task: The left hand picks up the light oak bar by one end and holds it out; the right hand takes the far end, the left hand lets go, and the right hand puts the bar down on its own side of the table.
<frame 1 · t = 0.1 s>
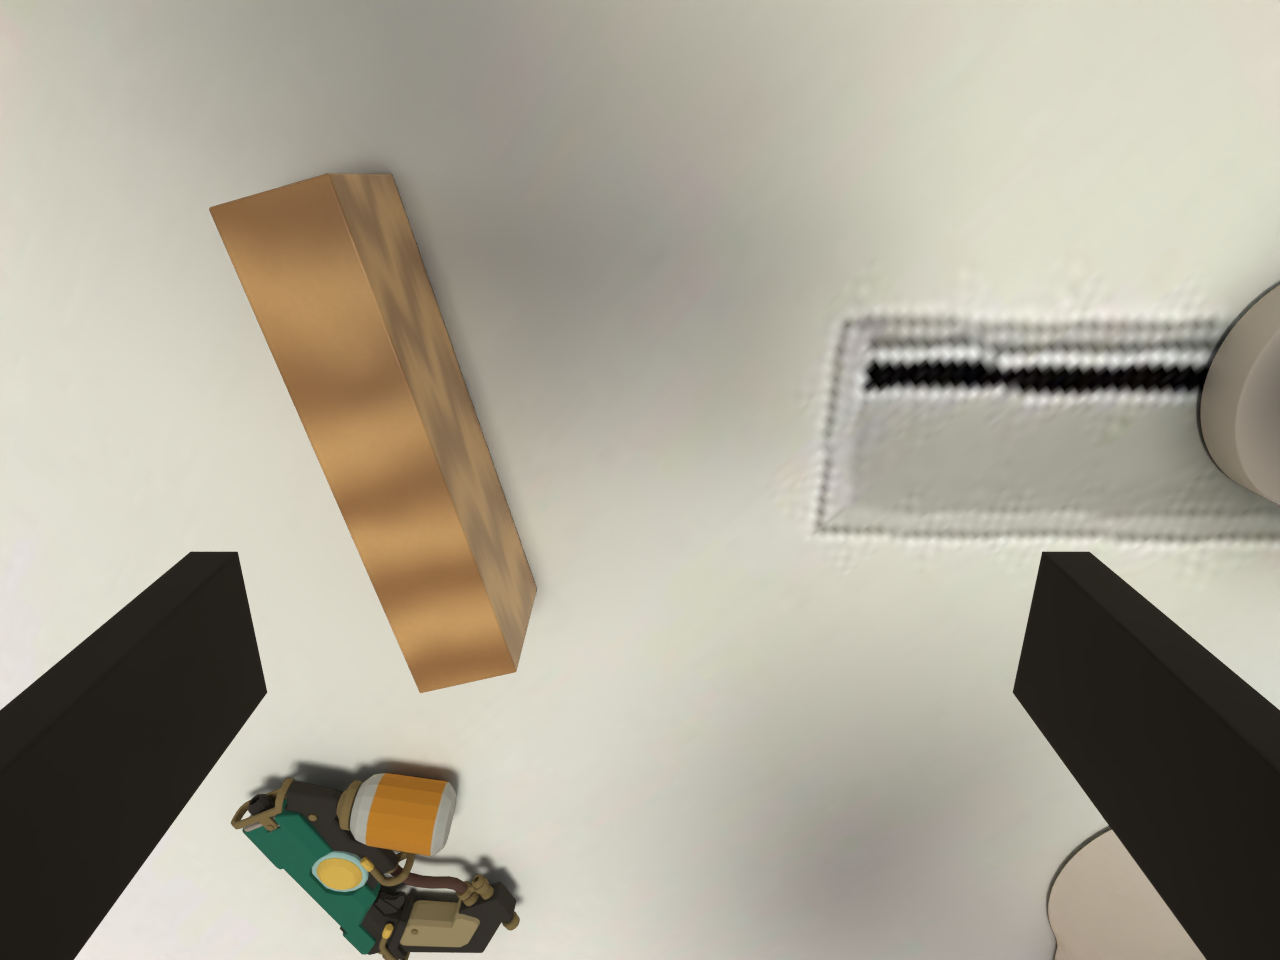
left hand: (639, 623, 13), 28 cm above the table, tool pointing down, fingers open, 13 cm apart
bar: (427, 413, 41), on the table
spray gun: (392, 848, 52), on the table
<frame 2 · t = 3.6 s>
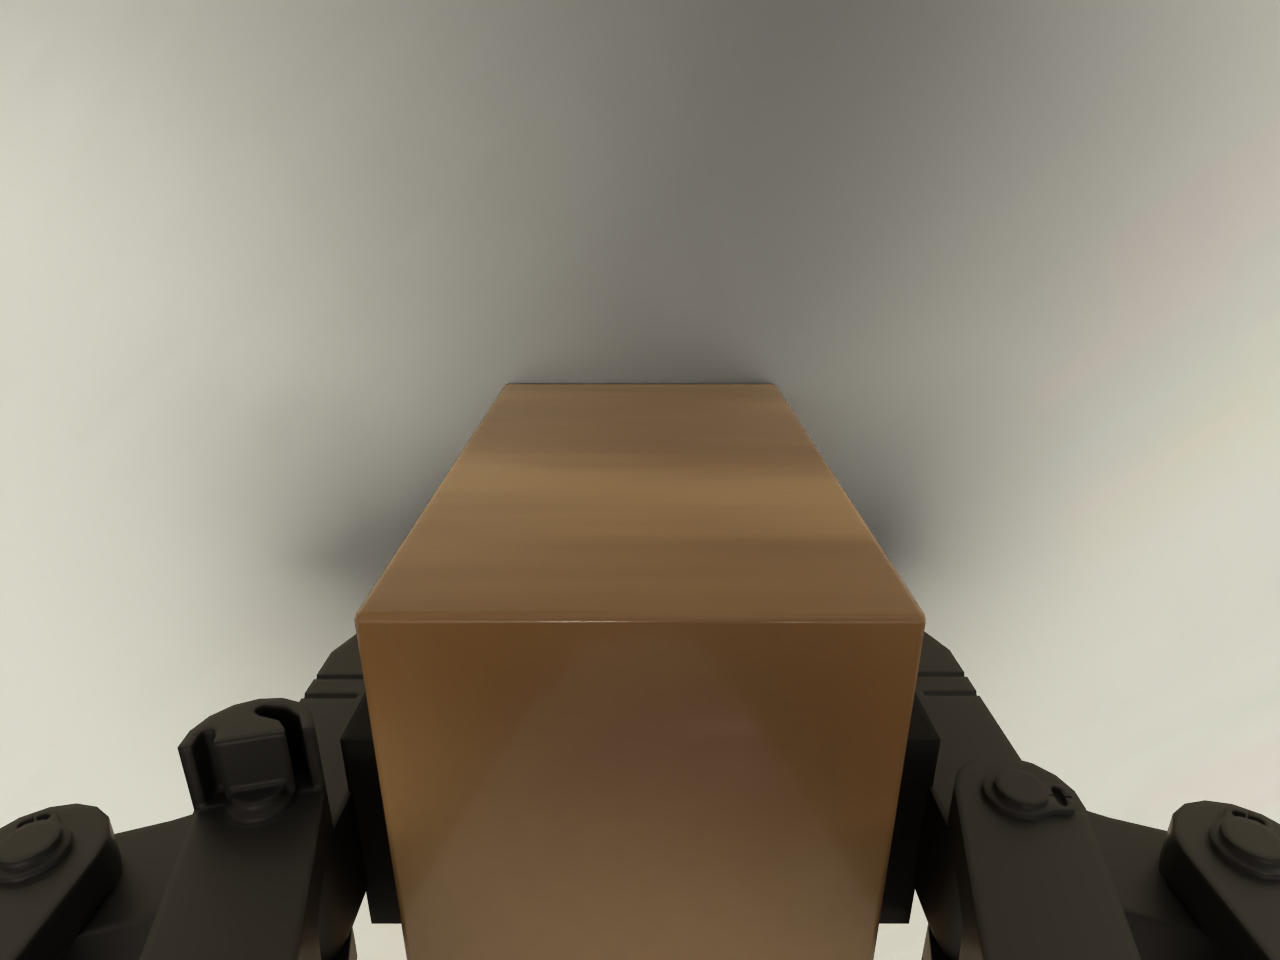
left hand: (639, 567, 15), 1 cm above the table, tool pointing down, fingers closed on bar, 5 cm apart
bar: (640, 860, 18), on the table, touching left hand
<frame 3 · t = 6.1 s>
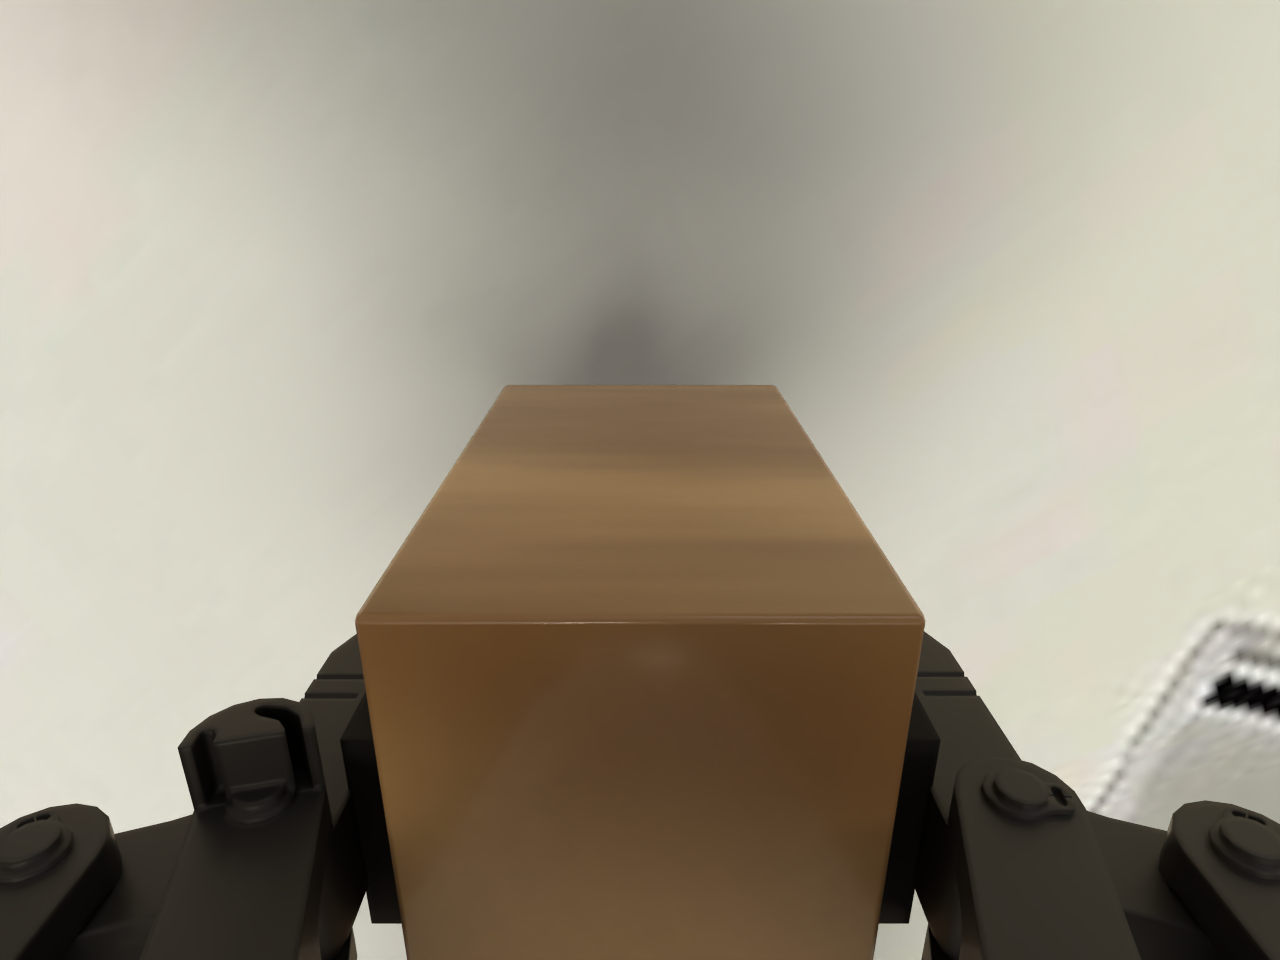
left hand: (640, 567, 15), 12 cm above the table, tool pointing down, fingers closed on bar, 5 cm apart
bar: (640, 860, 18), point 12 cm above the table, touching left hand
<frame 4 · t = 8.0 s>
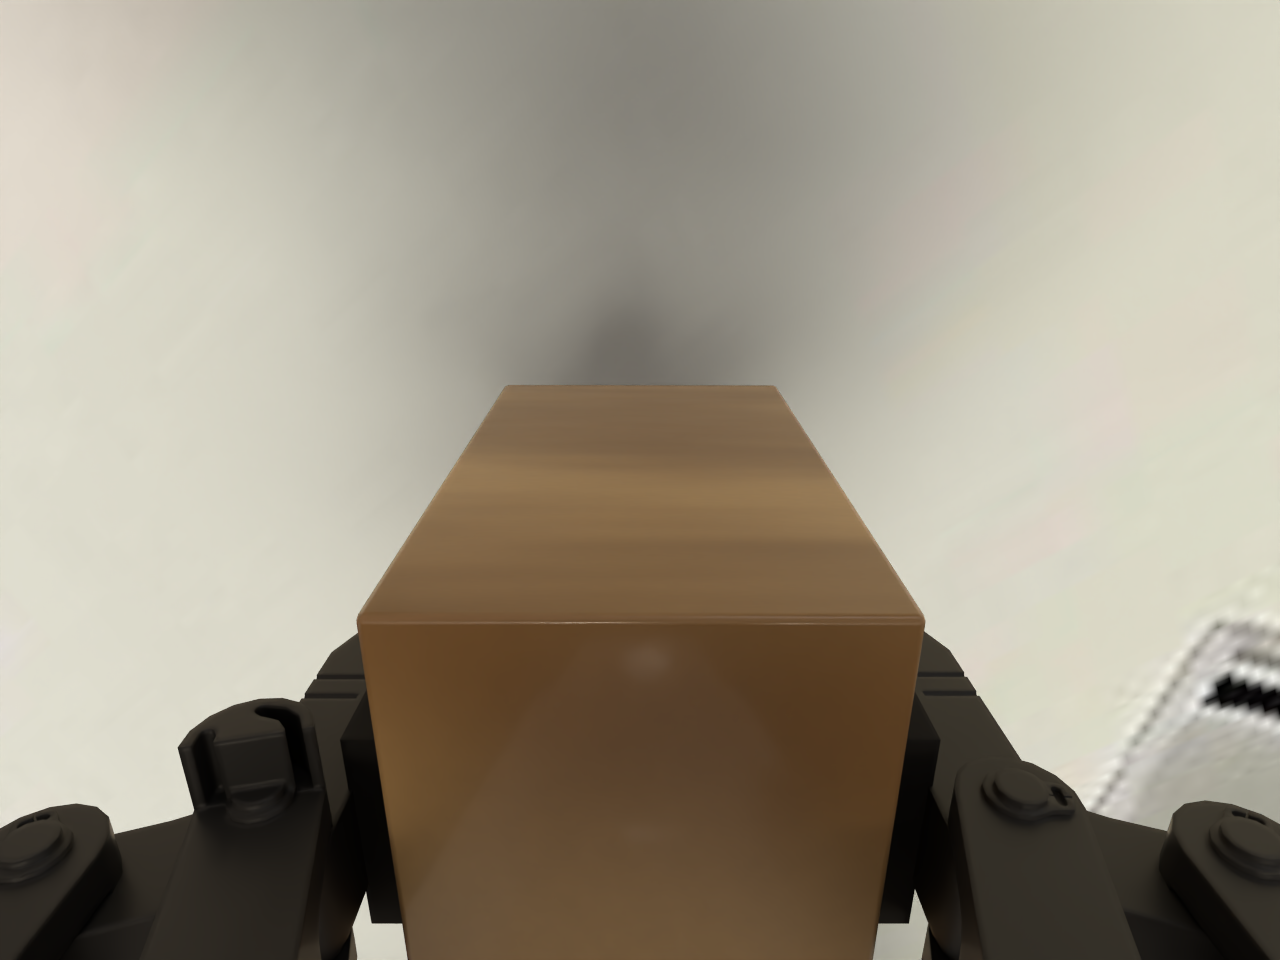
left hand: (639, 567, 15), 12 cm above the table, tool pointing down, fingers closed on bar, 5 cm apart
bar: (639, 860, 18), point 12 cm above the table, touching left hand, right hand
when the left hand's fingers open (12 cm above the table, at t = 8.9 s): bar stays where it is, held by the right hand.
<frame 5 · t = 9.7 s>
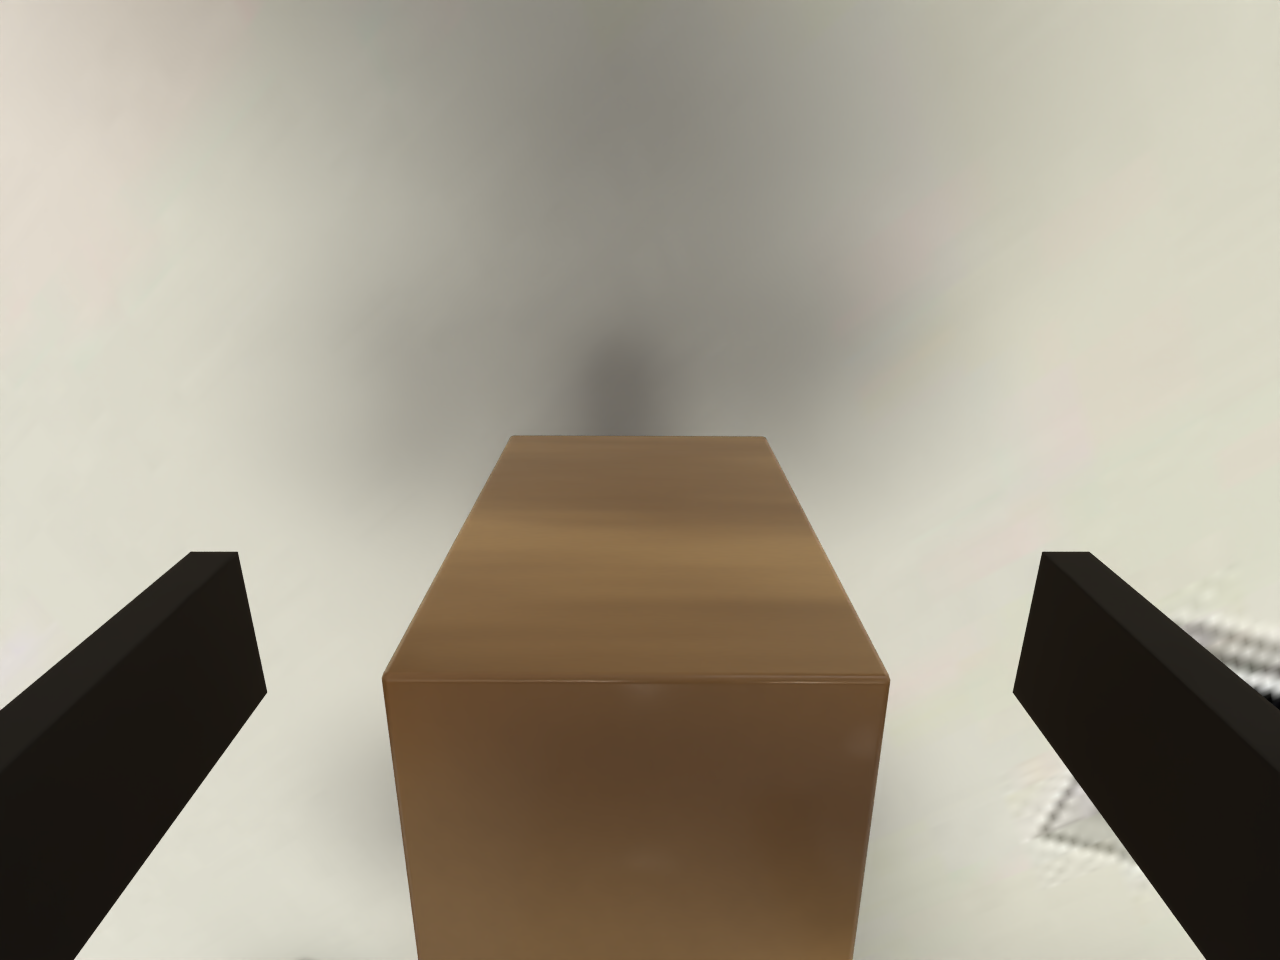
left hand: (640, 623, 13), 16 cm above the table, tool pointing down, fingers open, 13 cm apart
bar: (636, 886, 19), point 13 cm above the table, touching right hand
when the right hand's fingers open (4 cm above the table, at t = 15.8 s): bar stays where it is, on the table.
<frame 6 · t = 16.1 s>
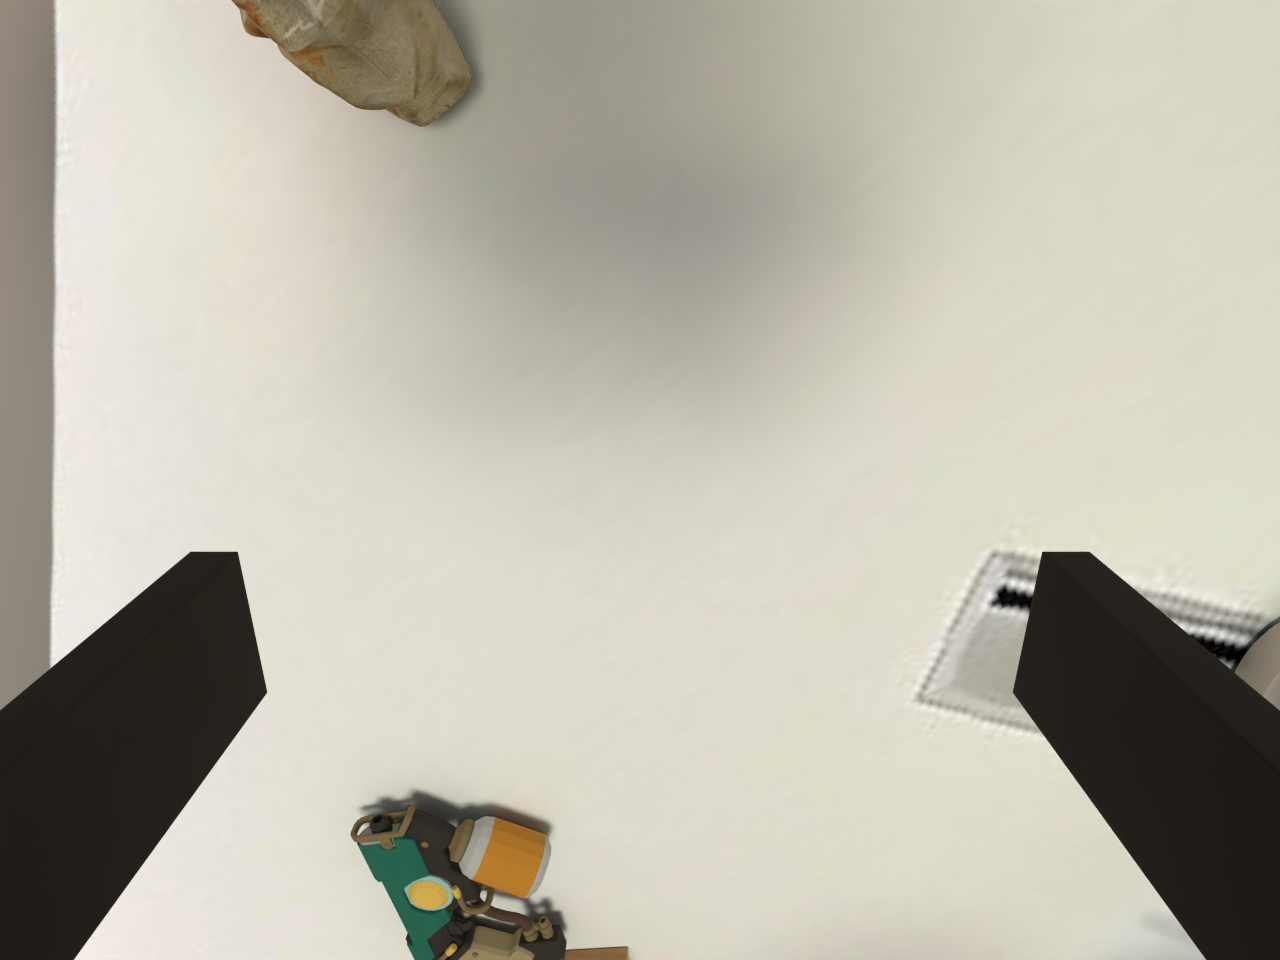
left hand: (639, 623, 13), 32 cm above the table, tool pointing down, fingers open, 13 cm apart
spray gun: (469, 877, 58), on the table
sculpture: (413, 49, 38), on the table
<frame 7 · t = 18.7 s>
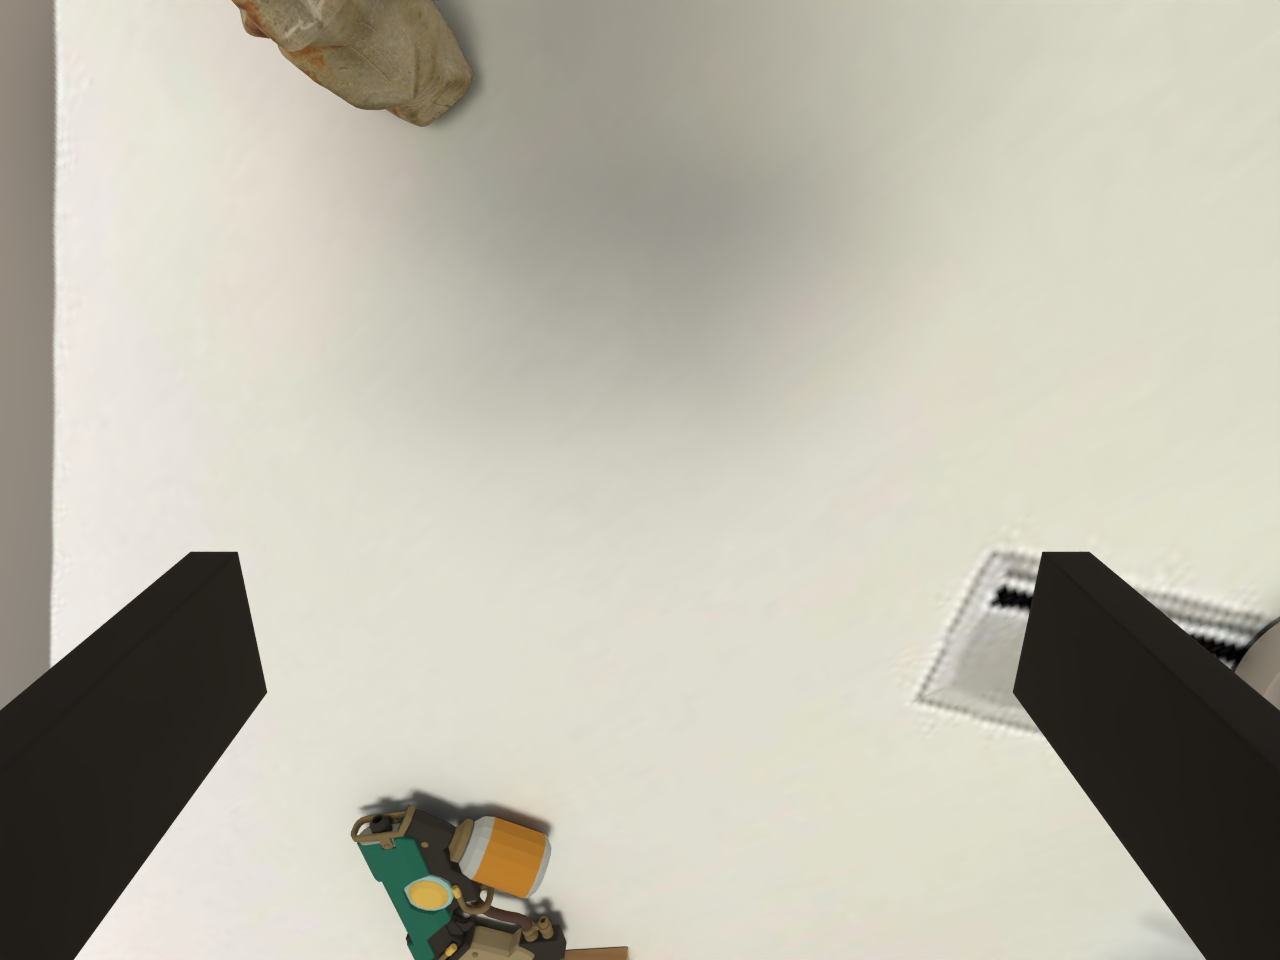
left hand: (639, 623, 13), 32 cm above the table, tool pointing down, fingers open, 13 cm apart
spray gun: (469, 877, 58), on the table
sculpture: (413, 49, 38), on the table
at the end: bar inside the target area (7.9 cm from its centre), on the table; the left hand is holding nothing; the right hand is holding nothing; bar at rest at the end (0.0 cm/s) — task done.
